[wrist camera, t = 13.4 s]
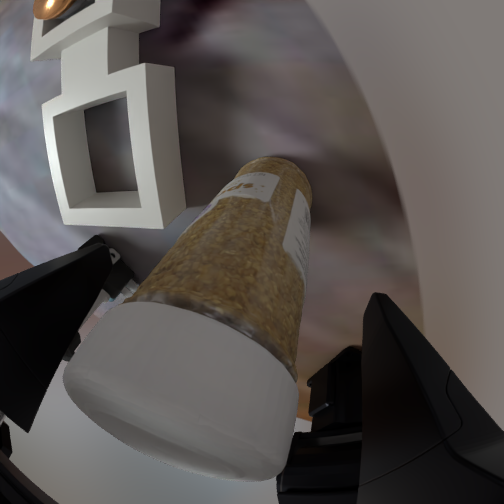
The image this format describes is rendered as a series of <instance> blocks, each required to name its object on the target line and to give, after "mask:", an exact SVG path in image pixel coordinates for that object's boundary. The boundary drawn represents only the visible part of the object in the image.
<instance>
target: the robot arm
mask: <svg viewBox="0 0 504 504" xmlns="http://www.w3.org/2000/svg"><path fill="white" fill-rule="evenodd" d="M112 269H113V263H112V259H111V254H110V250H109V247H108V246H107V245H105V244H100V243H98V244H95V245H92V246H89V247H86V248H83V249H80V250H77V251H75V252H72V253H69V254H66V255H64V256H61V257H58V258H56V259H53V260H50V261H48V262H45V263H42V264H40V265H37V266H35V267H32V268H30V269H27V270H25V271H22V272H20V273H17V274H15V275H13V276H10V277H7V278H5V279H3V280H0V504H58V503H57V502H56V501H55V500H53V499H52V498H51V497H50V496H48V495H47V494H46V493H45V492H43V491H42V490H41V489H40V488H39V487H38V486H36V485H35V484H34V483H33V482H32V481H31V480H30V479H29V478H27V477H26V476H25V475H24V474H23V473H22V472H21V471H20V470H19V469H18V468H17V467H16V466H15V465H14V464H13V463H12V462H11V461H10V460H9V457H10V456H11V454H12V446H11V439H10V431H9V426H8V425H7V424H6V423H5V422H4V419H5V417H6V416H7V417H8V418H9V419H11V420H12V421H13V422H14V423H15V424H17V425H18V426H19V427H20V428H22V429H23V430H25V432H27V433H29V431H30V429H31V426H32V424H33V421H34V419H35V416H36V414H37V411H38V409H39V407H40V404H41V402H42V400H43V398H44V395H45V393H46V391H47V389H48V387H49V384H50V382H51V380H52V378H53V376H54V374H55V372H56V370H57V368H58V366H59V364H60V362H61V361H62V359H63V357H64V355H65V353H66V351H67V349H68V347H69V346H70V344H71V342H72V340H73V339H74V337H75V335H76V333H77V332H78V330H79V328H80V326H81V325H82V323H83V321H84V320H85V318H86V316H87V315H88V313H89V311H90V310H91V308H92V307H93V305H94V303H95V301H96V300H97V298H98V296H99V294H100V292H101V290H102V288H103V286H104V284H105V282H106V280H107V279H108V277H109V275H110V273H111V271H112ZM307 386H308V387H311V394H310V404H309V412H308V413H309V416H311V417H313V418H312V427H311V432H304V433H302V432H295V433H294V435H293V438H292V442H291V446H290V450H289V454H288V458H287V462H286V465H285V467H284V469H283V470H282V472H281V473H280V474H278V475H277V476H276V481H277V493H278V494H277V496H278V501H279V504H504V431H503V430H502V429H501V428H500V427H499V426H498V425H497V424H496V423H495V421H494V420H493V419H492V418H491V417H490V416H489V414H488V413H487V412H486V411H485V409H484V408H483V407H482V406H481V405H480V404H479V403H478V401H477V400H476V399H475V398H474V397H473V396H472V394H471V393H470V392H469V391H468V390H467V388H466V387H465V386H464V385H463V383H462V382H461V381H460V380H459V378H458V377H457V376H456V375H455V373H454V372H453V371H452V370H450V367H449V366H448V365H447V363H446V362H445V361H444V360H443V358H442V357H441V356H440V355H439V354H438V352H437V351H436V350H435V349H434V348H433V347H432V345H431V344H430V343H429V342H428V340H427V339H426V338H425V337H424V336H423V334H422V333H421V332H420V331H419V330H418V329H417V328H416V326H415V325H414V324H413V323H412V322H411V321H410V320H409V318H408V317H407V316H406V315H405V314H404V313H403V312H402V311H401V310H400V308H399V307H398V306H397V305H396V304H395V303H394V302H393V301H392V300H391V299H390V298H389V297H388V295H386V294H384V293H377V292H375V293H373V294H372V296H371V298H370V300H369V303H368V305H367V308H366V310H365V313H364V317H363V340H362V351H359V350H357V349H354V348H352V347H348V348H345V349H344V350H342V351H341V352H340V353H339V354H338V355H337V356H336V357H335V358H333V359H332V360H331V361H330V362H329V363H327V364H326V365H325V366H324V367H323V368H322V369H320V370H319V371H318V372H317V373H316V374H314V375H313V376H312V377H311V378H310V379H308V380H307Z"/></svg>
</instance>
